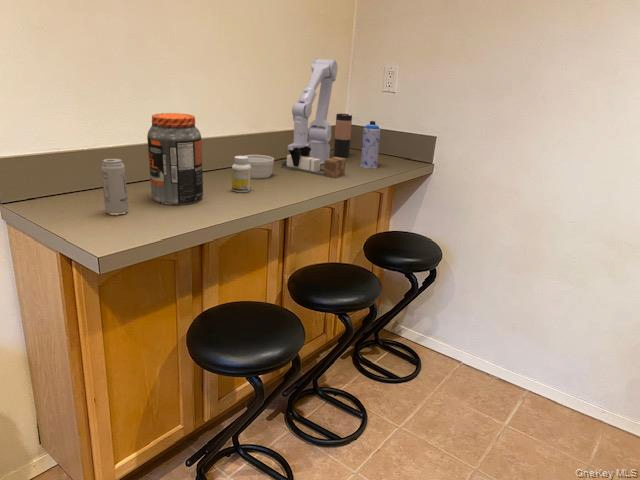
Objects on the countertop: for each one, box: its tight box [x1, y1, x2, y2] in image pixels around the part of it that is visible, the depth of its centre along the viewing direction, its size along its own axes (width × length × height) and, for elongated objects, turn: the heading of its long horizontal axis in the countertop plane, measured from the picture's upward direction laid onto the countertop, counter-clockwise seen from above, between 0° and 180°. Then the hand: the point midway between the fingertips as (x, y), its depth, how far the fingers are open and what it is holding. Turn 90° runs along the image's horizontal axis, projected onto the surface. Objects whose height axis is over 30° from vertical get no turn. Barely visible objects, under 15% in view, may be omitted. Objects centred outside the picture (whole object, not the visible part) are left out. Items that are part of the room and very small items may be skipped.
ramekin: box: [245, 154, 275, 180], centre depth 188 cm, size 13×13×7 cm
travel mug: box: [333, 113, 353, 159], centre depth 233 cm, size 8×8×20 cm
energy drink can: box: [100, 158, 129, 213], centre depth 134 cm, size 6×6×15 cm
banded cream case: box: [286, 154, 321, 172], centre depth 203 cm, size 5×14×5 cm, turn 57°
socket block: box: [323, 156, 347, 179], centre depth 195 cm, size 8×5×7 cm, turn 147°
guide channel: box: [280, 159, 325, 177], centre depth 203 cm, size 8×22×2 cm, turn 57°
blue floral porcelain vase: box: [359, 120, 381, 170], centre depth 214 cm, size 8×8×20 cm
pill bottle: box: [231, 155, 252, 193], centre depth 165 cm, size 6×6×12 cm
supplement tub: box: [146, 112, 204, 205], centre depth 149 cm, size 16×16×26 cm
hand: (299, 165), depth 205 cm, fingers closed on banded cream case, 4 cm apart
